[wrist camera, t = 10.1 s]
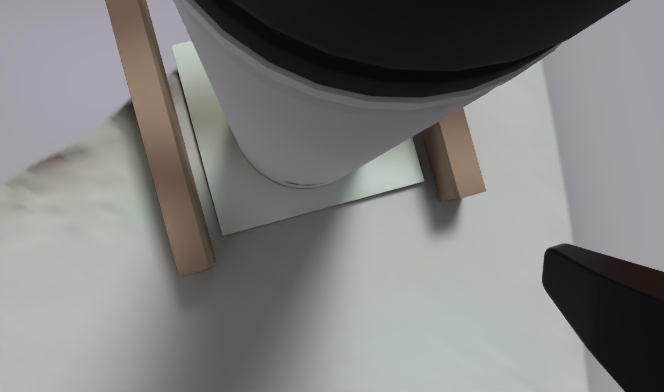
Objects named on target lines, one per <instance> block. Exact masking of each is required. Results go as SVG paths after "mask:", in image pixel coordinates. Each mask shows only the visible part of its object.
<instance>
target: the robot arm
mask: <svg viewBox="0 0 664 392" xmlns="http://www.w3.org/2000/svg"><path fill="white" fill-rule="evenodd" d="M542 283H543V286H544V288H545V290H546V292H547V293H548V295H549V296H550V298H551V299H552V300H553V302H554V303H555V305H556V306H557V307H558V309H559V310H560V311H561V313H562V314H563V316H564V317H565V318H566V320H567V321H568V323H569V324H570V325H571V327H572V328H573V330H574V331H575V332H576V334H577V335H578V336H579V338H580V339H581V341H582V342H583V343H584V345H585V346H586V347H587V348H588V350H589V351H590V352H591V353H592V355H593V356H594V357H595V358H596V359H597V361H598V362H599V363H600V364H601V365H602V366H603V367H604V368H605V369H606V371H607V372H608V373H609V374H610V375H611V376H612V377H613V379H614V380H615V381H616V382H617V383H618V384H619V385H620V387H622V389H623V390H624V391H625V392H664V272H662V271H659V270H655V269H652V268H648V267H645V266H642V265H638V264H635V263H632V262H628V261H625V260H621V259H618V258H614V257H611V256H608V255H604V254H601V253H597V252H594V251H591V250H587V249H584V248H580V247H577V246H574V245H570V244H560V245H556V246H553V247H550V248H548V249H547V250H546V251H545V254H544V263H543V273H542Z"/></svg>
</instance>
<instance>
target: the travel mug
mask: <svg viewBox="0 0 664 392" xmlns="http://www.w3.org/2000/svg"><path fill="white" fill-rule="evenodd" d="M629 1H630V0H174V3H175V4H176V7H177V9H178V12H179V14H180V16H181V18H182V20H183V23H184V25H185V27H186V29H187V32H188V34H189V36H190V38H191V40H192V43H193V45H194V47H195V49H196V52H197V54H198V56H199V58H200V61H201V63H202V65H203V67H204V69H205V72H206V74H207V76H208V78H209V81H210V83H211V85H212V87H213V90H214V92H215V94H216V96H217V98H218V101H219V103H220V105H221V107H222V110H223V112H224V114H225V116H226V119H227V121H228V123H229V125H230V127H231V130H232V132H233V134H234V136H235V139H236V141H237V143H238V145H239V147H240V150H241V152H242V153H243V155H244V156H245V158H246V159H247V161H248V162H249V164H250V165H251V166H252V167H253V168H254V169H255V170H256V171H257V172H258V173H259V174H261V175H262V176H264V177H265V178H267V179H268V180H270V181H272V182H274V183H277V184H279V185H282V186H285V187H290V188H295V189H313V188H318V187H323V186H326V185H328V184H331V183H333V182H336V181H337V180H339V179H341V178H343V177H344V176H346V175H348V174H349V173H351V172H353V171H355V170H356V169H358V168H360V167H361V166H363V165H365V164H367V163H368V162H370V161H372V160H373V159H375V158H377V157H379V156H380V155H382V154H384V153H385V152H387V151H389V150H391V149H392V148H394V147H396V146H397V145H399V144H401V143H403V142H404V141H406V140H408V139H409V138H411V137H413V136H415V135H416V134H418V133H420V132H421V131H423V130H425V129H427V128H428V127H430V126H432V125H433V124H435V123H437V122H439V121H440V120H442V119H444V118H445V117H447V116H449V115H451V114H452V113H454V112H456V111H457V110H459V109H461V108H463V107H464V106H466V105H468V104H469V103H471V102H473V101H475V100H476V99H478V98H480V97H481V96H483V95H485V94H486V93H488V92H489V91H491V90H492V89H494V88H495V87H497V86H500V85H502V84H504V83H505V82H507V81H509V80H511V79H512V78H514V77H516V76H517V75H519V74H520V73H522V72H523V71H525V70H526V69H528V68H529V67H531V66H532V65H534V64H535V63H536V62H538V61H539V60H541V59H542V58H544V57H545V56H547V55H548V54H550V53H551V52H553V51H554V50H555V49H556V48H557V47H558V46H559V45H560V44H561V43H562V42H563V41H566V40H568V39H570V38H571V37H573V36H574V35H576V34H578V33H579V32H581V31H582V30H584V29H586V28H587V27H589V26H590V25H592V24H593V23H595V22H597V21H598V20H600V19H601V18H603V17H604V16H606V15H608V14H609V13H611V12H612V11H614V10H616V9H617V8H619V7H621V6H622V5H624V4H625V3H627V2H629Z"/></svg>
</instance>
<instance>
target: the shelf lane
mask: <svg viewBox="0 0 664 392" xmlns="http://www.w3.org/2000/svg"><path fill="white" fill-rule="evenodd" d="M105 1H106V5H107V8H108V12H109V15H110V19H111V23H112V27H113V31H114V35H115V38H116V42H117V46H118V50H119V54H120V57H121V61H122V65H123V69H124V72H125V76H126V80H127V84H128V87H129V91H130V95H131V99H132V102H133V106H134V110H135V114H136V117H137V121H138V125H139V129H140V132H141V136H142V140H143V144H144V147H145V151H146V155H147V159H148V162H149V166H150V170H151V174H152V177H153V181H154V185H155V189H156V192H157V196H158V200H159V204H160V208H161V211H162V215H163V219H164V223H165V226H166V230H167V234H168V238H169V241H170V245H171V249H172V253H173V256H174V260H175V264H176V268H177V271H178V275H179V277H182V276H185V275H189V274H192V273H196V272H199V271H203V270H207V269H210V268H211V267H212V266H213V265H215V264H216V260H215V256H214V253H213V249H212V245H211V241H210V238H209V234H208V230H207V227H206V223H205V219H204V215H203V212H202V208H201V204H200V200H199V197H198V193H197V189H196V185H195V182H194V178H193V174H192V170H191V167H190V163H189V159H188V155H187V152H186V148H185V144H184V141H183V137H182V133H181V129H180V126H179V122H178V118H177V114H176V111H175V107H174V103H173V99H172V96H171V92H170V88H169V84H168V81H167V77H166V73H165V69H164V66H163V62H162V58H161V55H160V51H159V47H158V44H157V40H156V36H155V32H154V28H153V25H152V21H151V17H150V13H149V10H148V6H147V2H146V0H105ZM172 49H173V53H174V57H175V61H176V64H177V68H178V72H179V76H180V79H181V83H182V87H183V90H184V94H185V98H186V102H187V105H188V109H189V113H190V117H191V120H192V124H193V128H194V132H195V135H196V139H197V143H198V146H199V150H200V154H201V158H202V161H203V165H204V169H205V173H206V176H207V180H208V184H209V188H210V191H211V195H212V199H213V202H214V206H215V210H216V214H217V217H218V221H219V225H220V229H221V232H222V236H224V235H228V234H232V233H236V232H239V231H243V230H247V229H250V228H254V227H258V226H261V225H265V224H269V223H272V222H276V221H280V220H283V219H287V218H291V217H294V216H298V215H302V214H305V213H309V212H313V211H316V210H320V209H324V208H327V207H331V206H335V205H338V204H342V203H346V202H349V201H353V200H357V199H360V198H364V197H368V196H371V195H375V194H379V193H382V192H386V191H390V190H393V189H397V188H401V187H405V186H408V185H412V184H416V183H419V182H423V181H424V178H423V175H422V171H421V167H420V164H419V160H418V156H417V153H416V149H415V145H414V142H413V138H412V137H411V138H409V139H408V140H406V141H404V142H403V143H401V144H399V145H397V146H396V147H394V148H392V149H391V150H389V151H387V152H385V153H384V154H382V155H380V156H379V157H377V158H375V159H373V160H372V161H370V162H368V163H367V164H365V165H363V166H361V167H360V168H358V169H356V170H355V171H353V172H351V173H349V174H348V175H346V176H344V177H343V178H341V179H339V180H337V181H336V182H333V183H331V184H328V185H326V186H323V187H318V188H313V189H295V188H290V187H285V186H282V185H279V184H277V183H274V182H272V181H270V180H268V179H267V178H265V177H264V176H262V175H261V174H259V173H258V172H257V171H256V170H255V169H254V168H253V167H252V166H251V165H250V164H249V162H248V161H247V159H246V158H245V156H244V155H243V153H242V152H241V150H240V147H239V145H238V143H237V141H236V139H235V136H234V134H233V132H232V130H231V127H230V125H229V123H228V121H227V119H226V116H225V114H224V112H223V110H222V107H221V105H220V103H219V101H218V98H217V96H216V94H215V92H214V90H213V87H212V85H211V83H210V81H209V78H208V76H207V74H206V72H205V69H204V67H203V65H202V63H201V61H200V58H199V56H198V54H197V52H196V49H195V47H194V45H193V43H192V41H190V42H185V43H180V44H176V45H172ZM421 133H422V136H423V140H424V144H425V147H426V151H427V154H428V158H429V162H430V165H431V169H432V173H433V176H434V180H435V184H436V187H437V191H438V195H439V198H440V201H442V200H451V199H460V198H464V197H467V196H471V195H474V194H478V193H482V192H485V191H486V189H485V186H484V182H483V178H482V175H481V171H480V167H479V164H478V160H477V157H476V153H475V149H474V146H473V142H472V138H471V135H470V131H469V128H468V124H467V120H466V117H465V113H464V109H463V108H461V109H459V110H457V111H456V112H454V113H452V114H451V115H449V116H447V117H445V118H444V119H442V120H440V121H439V122H437V123H435V124H433V125H432V126H430V127H428V128H427V129H425V130H423V131H421Z"/></svg>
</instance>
